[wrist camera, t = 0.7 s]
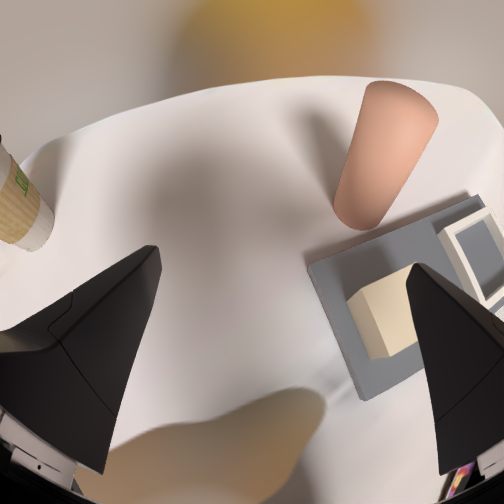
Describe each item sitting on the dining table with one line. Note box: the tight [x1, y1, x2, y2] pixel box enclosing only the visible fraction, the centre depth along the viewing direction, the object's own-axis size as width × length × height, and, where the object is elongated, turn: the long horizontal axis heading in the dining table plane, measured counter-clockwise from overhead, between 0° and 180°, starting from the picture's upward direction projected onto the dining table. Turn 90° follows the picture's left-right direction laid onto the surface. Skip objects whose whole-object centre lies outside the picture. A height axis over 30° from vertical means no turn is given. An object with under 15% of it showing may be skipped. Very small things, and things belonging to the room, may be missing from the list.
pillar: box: [333, 81, 439, 231], centre depth 20 cm, size 5×5×13 cm
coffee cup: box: [0, 135, 54, 252], centre depth 21 cm, size 10×10×15 cm
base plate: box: [307, 194, 504, 401], centre depth 20 cm, size 12×23×6 cm, turn 110°
